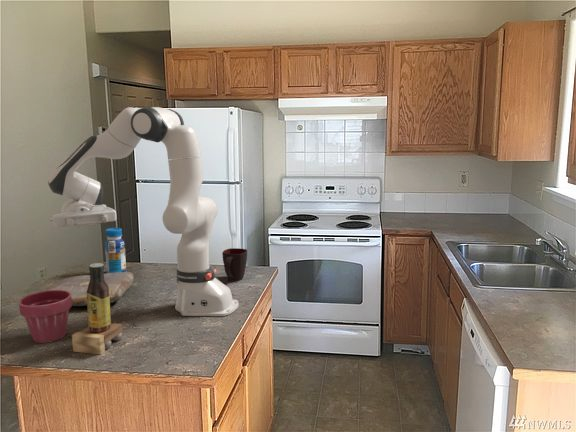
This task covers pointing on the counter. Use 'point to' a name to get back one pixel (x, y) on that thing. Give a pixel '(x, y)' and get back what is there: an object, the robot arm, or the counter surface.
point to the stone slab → (80, 284)
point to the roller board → (96, 339)
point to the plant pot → (46, 314)
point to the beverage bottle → (115, 251)
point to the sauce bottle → (98, 300)
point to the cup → (235, 263)
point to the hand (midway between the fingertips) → (89, 221)
